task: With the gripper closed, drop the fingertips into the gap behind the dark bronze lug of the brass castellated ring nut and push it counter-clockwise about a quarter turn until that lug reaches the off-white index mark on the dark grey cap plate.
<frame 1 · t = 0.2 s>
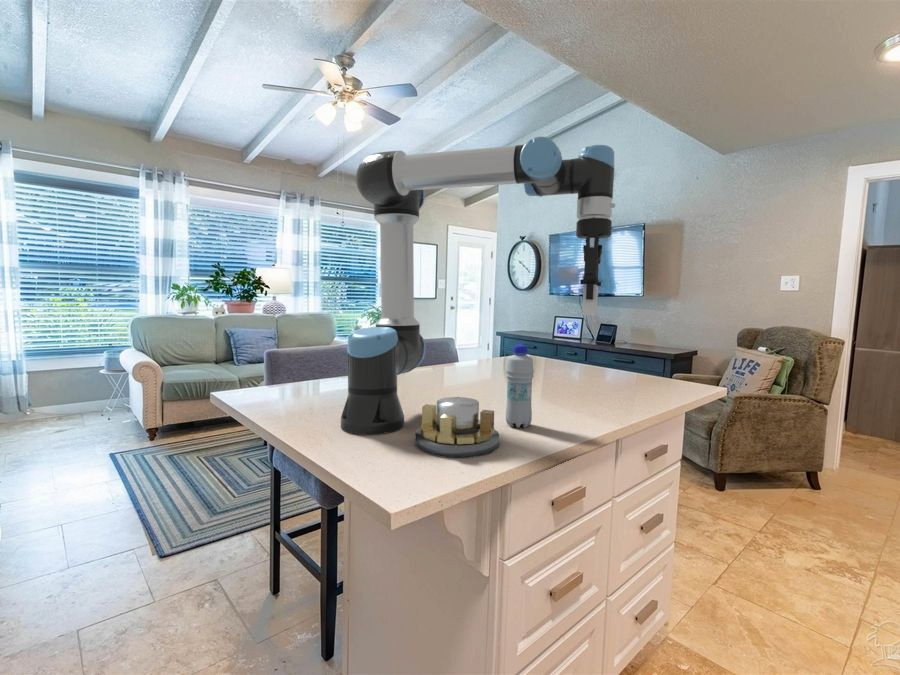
hand: (590, 314, 104), 28 cm above the table, fingers open, 13 cm apart
bottle: (518, 426, 111), on the table
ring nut: (457, 420, 97), point 5 cm above the table, hinge at 0.0°
cap plate: (457, 442, 98), on the table
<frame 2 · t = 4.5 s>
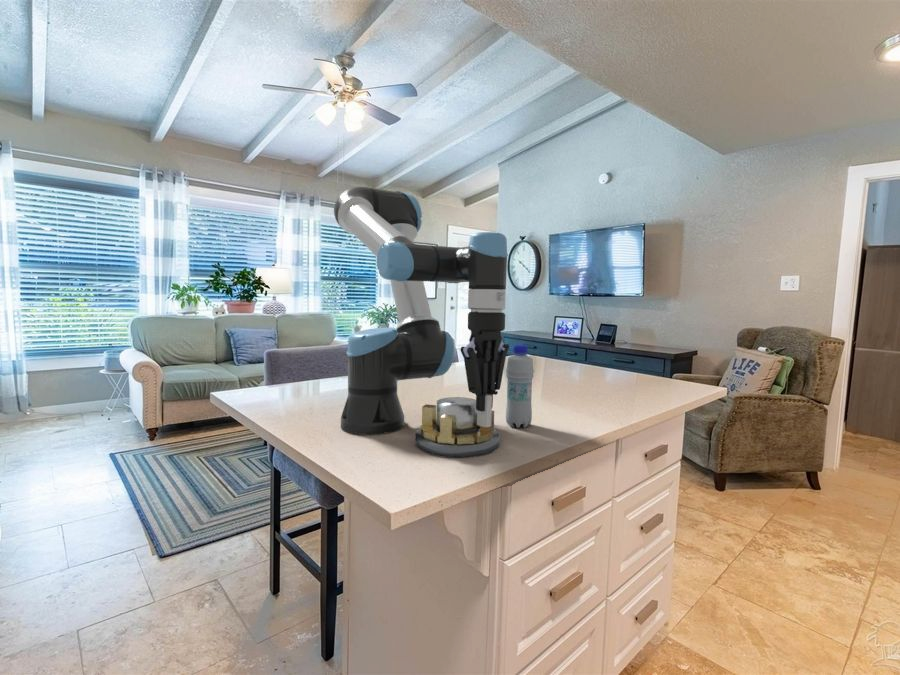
hand: (483, 425, 94), 5 cm above the table, fingers closed
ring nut: (457, 420, 97), point 5 cm above the table, hinge at 0.4°, touching gripper
everything else where it was.
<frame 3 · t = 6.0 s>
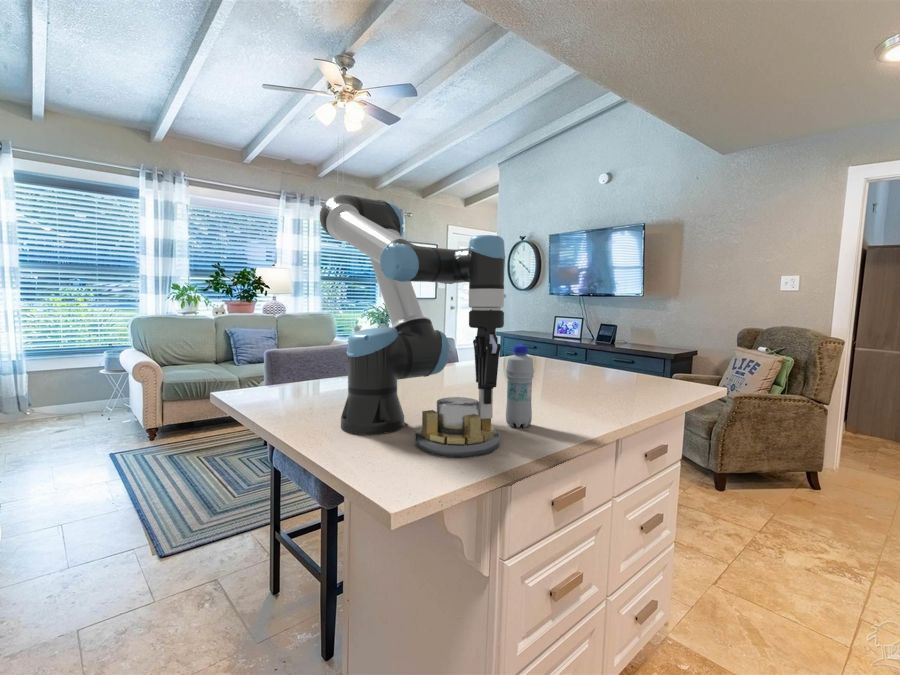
hand: (485, 417, 99), 5 cm above the table, fingers closed
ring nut: (457, 420, 97), point 5 cm above the table, hinge at 45.6°, touching gripper
everything else where it was.
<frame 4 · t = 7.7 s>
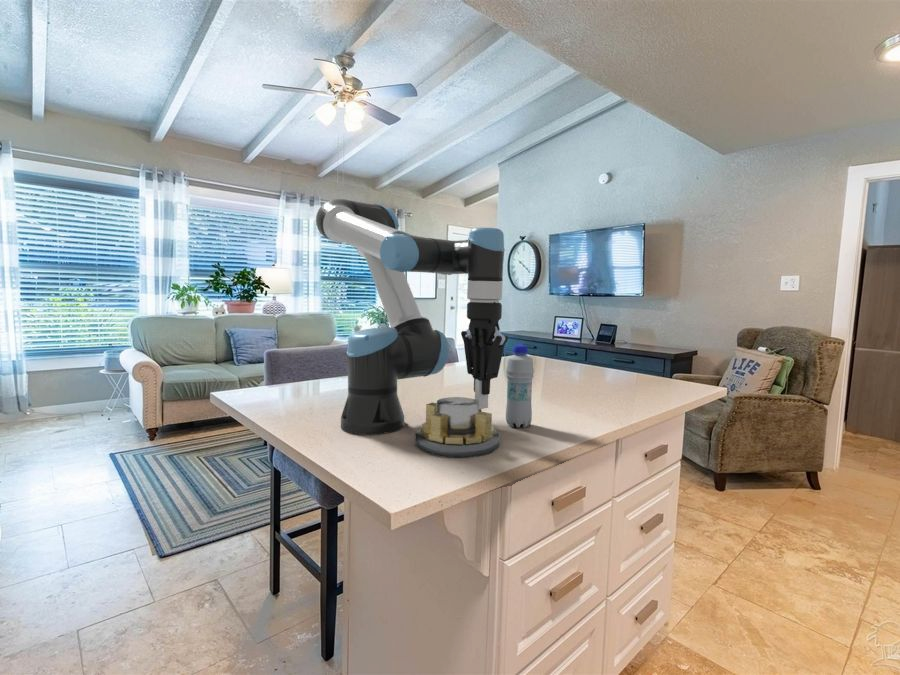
hand: (481, 407, 101), 7 cm above the table, fingers closed
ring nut: (457, 420, 97), point 5 cm above the table, hinge at 72.9°, touching gripper
everything else where it was.
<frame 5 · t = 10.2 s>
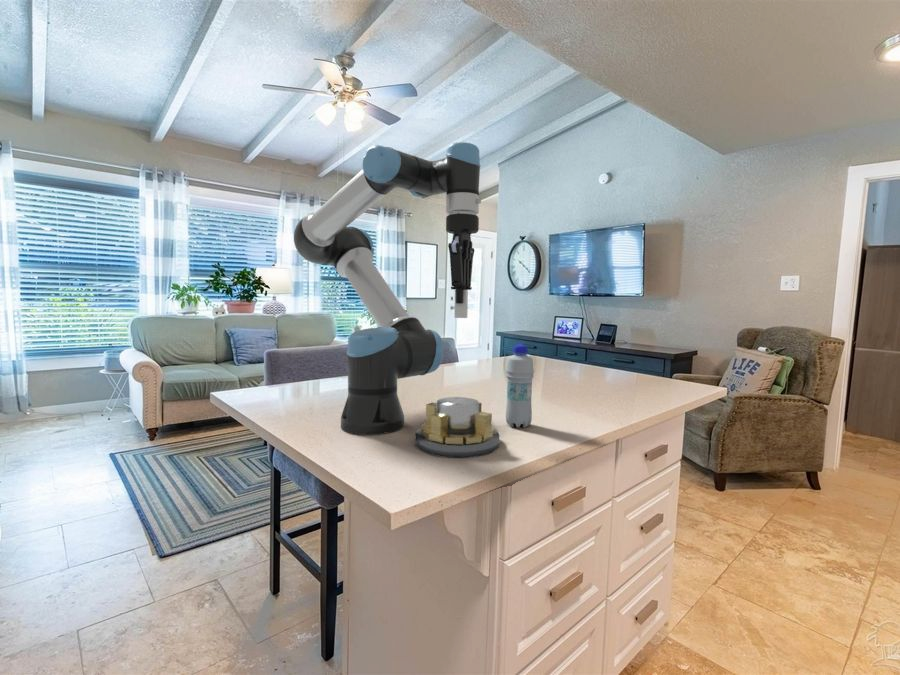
hand: (460, 317, 106), 26 cm above the table, fingers closed
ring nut: (457, 420, 97), point 5 cm above the table, hinge at 73.0°
everything else where it was.
at the end: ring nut at +73° (first picture: +0°) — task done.
